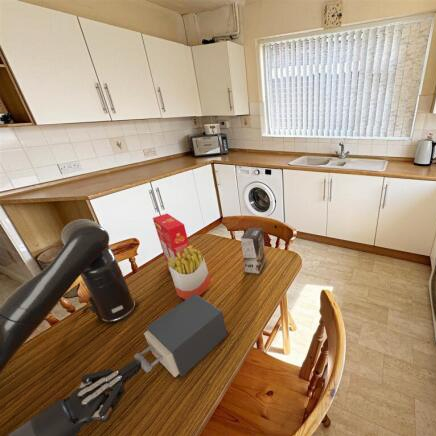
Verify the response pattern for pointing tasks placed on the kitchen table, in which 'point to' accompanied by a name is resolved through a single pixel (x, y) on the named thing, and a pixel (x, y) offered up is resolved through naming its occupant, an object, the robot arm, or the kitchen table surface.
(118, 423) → the kitchen table surface
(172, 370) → the drawer
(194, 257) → the french fries container
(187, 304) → the cabinet
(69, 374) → the kitchen table surface
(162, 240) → the food packaging
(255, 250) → the coffee box
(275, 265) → the kitchen table surface
